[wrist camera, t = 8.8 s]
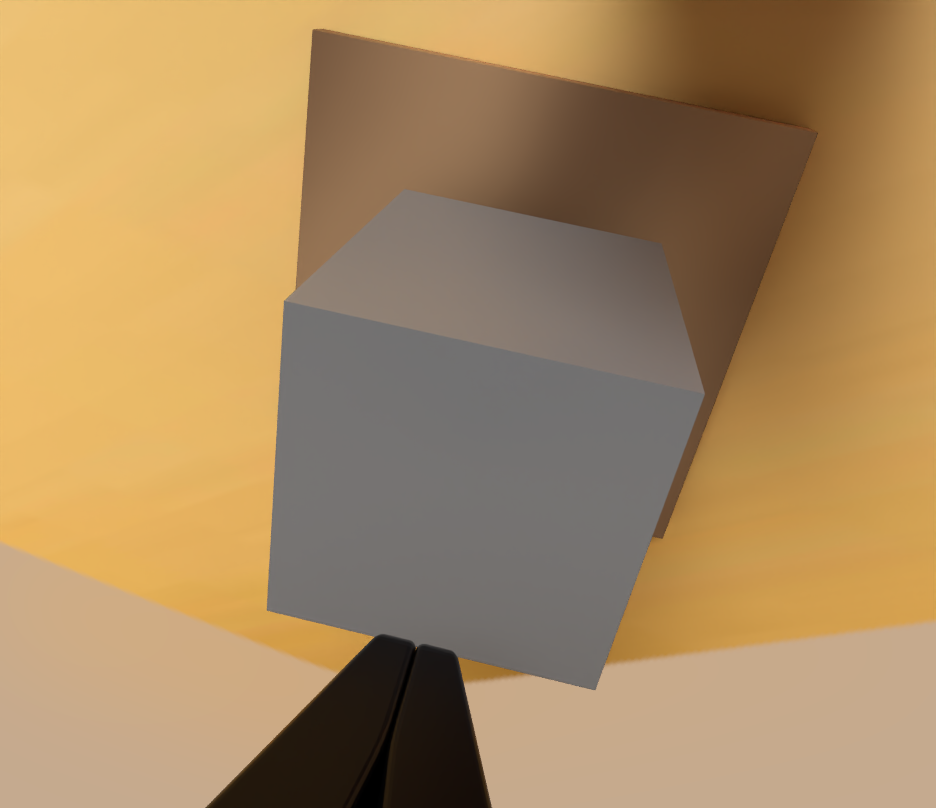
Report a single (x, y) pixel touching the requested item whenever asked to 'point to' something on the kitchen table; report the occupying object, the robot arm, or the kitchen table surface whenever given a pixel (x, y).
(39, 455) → the kitchen table surface
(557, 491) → the grey rectangular block
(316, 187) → the brown flat panel
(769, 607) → the kitchen table surface
